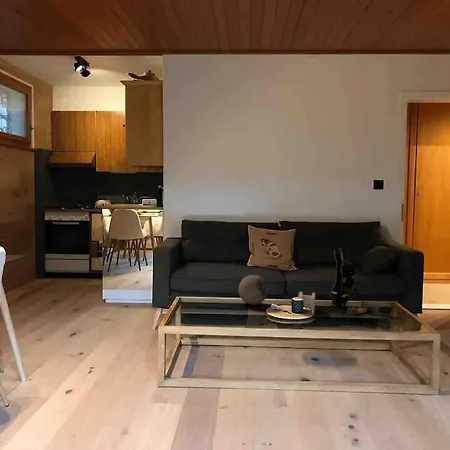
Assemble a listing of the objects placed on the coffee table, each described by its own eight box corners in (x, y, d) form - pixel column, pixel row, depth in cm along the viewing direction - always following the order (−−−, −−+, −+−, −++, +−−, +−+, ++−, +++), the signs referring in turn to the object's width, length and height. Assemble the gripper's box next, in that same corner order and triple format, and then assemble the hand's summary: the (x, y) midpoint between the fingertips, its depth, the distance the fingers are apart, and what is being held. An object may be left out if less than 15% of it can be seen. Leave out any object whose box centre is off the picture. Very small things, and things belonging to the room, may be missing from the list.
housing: (357, 308, 361) (358, 300, 360) (361, 308, 363) (362, 299, 362) (377, 315, 346) (377, 306, 345) (381, 315, 348) (382, 306, 347)
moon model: (238, 307, 348) (240, 277, 346) (237, 299, 368) (238, 271, 366) (268, 308, 349) (270, 279, 346) (265, 301, 369) (267, 272, 366)
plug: (351, 315, 343) (351, 309, 343) (346, 313, 347) (347, 307, 347) (367, 313, 350) (367, 307, 350) (362, 311, 354) (363, 306, 354)
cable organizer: (313, 315, 339) (315, 297, 338) (297, 313, 341) (298, 295, 340) (313, 309, 354) (315, 292, 353) (298, 307, 356) (299, 290, 354)
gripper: (343, 286, 329) (341, 311, 331) (365, 284, 338) (363, 308, 340) (331, 282, 338) (329, 306, 340) (353, 280, 348) (351, 304, 350)
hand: (344, 306), depth 342 cm, fingers closed
